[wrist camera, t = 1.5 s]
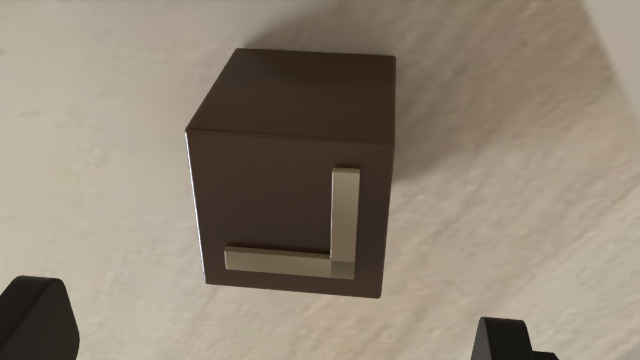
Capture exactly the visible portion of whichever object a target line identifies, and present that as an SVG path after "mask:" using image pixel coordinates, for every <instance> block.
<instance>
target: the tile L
mask: <svg viewBox="0 0 640 360" xmlns="http://www.w3.org/2000/svg"><path fill="white" fill-rule="evenodd" d="M395 88H396V58H395V57H394V56H381V55H361V54H341V53H321V52H301V51H281V50H261V49H241V48H237V49H236V50H235V51H234V53H233V54H232V56H231V57H230V59H229V61H228V62H227V64H226V65H225V67H224V69H223V70H222V72H221V73H220V75H219V77H218V78H217V80H216V81H215V83H214V84H213V86H212V88H211V89H210V91H209V92H208V94H207V96H206V97H205V99H204V100H203V102H202V103H201V105H200V107H199V108H198V110H197V111H196V113H195V115H194V116H193V118H192V119H191V121H190V123H189V124H188V126H187V127H186V129H185V136H186V144H187V152H188V159H189V167H190V174H191V182H192V190H193V197H194V205H195V212H196V220H197V228H198V235H199V243H200V250H201V258H202V266H203V273H204V281H205V283H206V284H212V285H224V286H236V287H247V288H259V289H271V290H282V291H294V292H306V293H317V294H329V295H341V296H352V297H364V298H376V299H378V298H380V297H381V292H382V281H383V270H384V259H385V248H386V237H387V226H388V215H389V204H390V193H391V182H392V171H393V160H394V149H395Z"/></svg>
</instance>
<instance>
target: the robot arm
mask: <svg viewBox="0 0 640 360" xmlns="http://www.w3.org/2000/svg"><path fill="white" fill-rule="evenodd" d="M79 342H80V337H79V331H78V327H77V324H76V321H75V317H74V314H73V311H72V307H71V304H70V301H69V297H68V294H67V291H66V287H65V285H64V283H63V281H62V280H60V279H57V278H46V277H34V276H23V275H22V276H18V277H16V278H15V279H14V280H13V281H12V282H11V283H10V284H9V285H8V287H7V288H6V289H5V290H4V292H3V293H2V294H1V295H0V360H76V357H77V354H78V350H79ZM471 360H559V359H558V358H557V357H556V355H555V354H554V353H550V352H539V351H532V347H531V343H530V339H529V335H528V331H527V327H526V324H525V322H524V321H523V320H514V319H503V318H491V317H481V318H480V320H479V324H478V328H477V333H476V337H475V342H474V346H473V351H472V356H471Z"/></svg>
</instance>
